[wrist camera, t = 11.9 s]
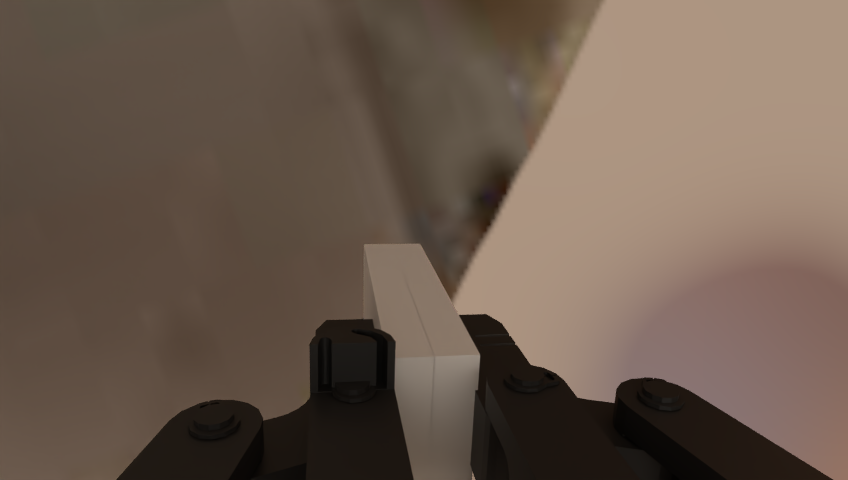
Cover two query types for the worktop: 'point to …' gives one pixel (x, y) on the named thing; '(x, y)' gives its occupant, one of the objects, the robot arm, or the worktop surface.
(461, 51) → the worktop surface
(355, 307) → the worktop surface
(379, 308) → the robot arm
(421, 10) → the worktop surface
